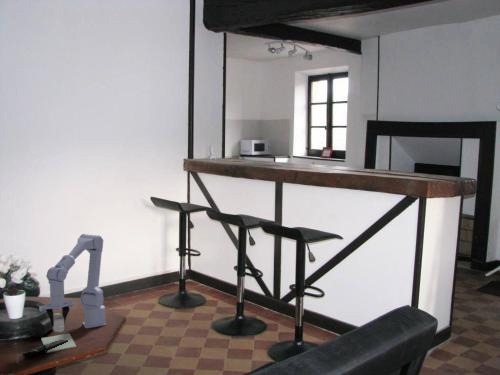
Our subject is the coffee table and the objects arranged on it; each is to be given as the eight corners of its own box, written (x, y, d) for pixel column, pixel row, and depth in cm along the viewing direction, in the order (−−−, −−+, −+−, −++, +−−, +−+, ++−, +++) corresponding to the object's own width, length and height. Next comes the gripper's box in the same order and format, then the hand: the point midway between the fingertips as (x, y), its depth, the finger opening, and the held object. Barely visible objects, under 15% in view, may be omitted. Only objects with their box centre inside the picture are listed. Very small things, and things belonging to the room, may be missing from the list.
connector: (60, 323, 226) (60, 312, 226) (66, 333, 215) (65, 321, 215) (51, 324, 224) (51, 314, 224) (56, 334, 213) (55, 323, 213)
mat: (69, 334, 232) (69, 333, 232) (76, 347, 218) (76, 346, 218) (41, 339, 226) (41, 338, 226) (46, 352, 212) (46, 351, 212)
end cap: (45, 338, 228) (45, 323, 227) (31, 336, 229) (30, 322, 228) (57, 329, 237) (57, 315, 237) (43, 328, 238) (43, 314, 238)
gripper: (40, 299, 213) (41, 330, 214) (76, 294, 220) (77, 324, 221) (38, 294, 219) (39, 325, 220) (73, 290, 226) (73, 319, 227)
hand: (58, 324), depth 221 cm, fingers closed on connector, 4 cm apart
